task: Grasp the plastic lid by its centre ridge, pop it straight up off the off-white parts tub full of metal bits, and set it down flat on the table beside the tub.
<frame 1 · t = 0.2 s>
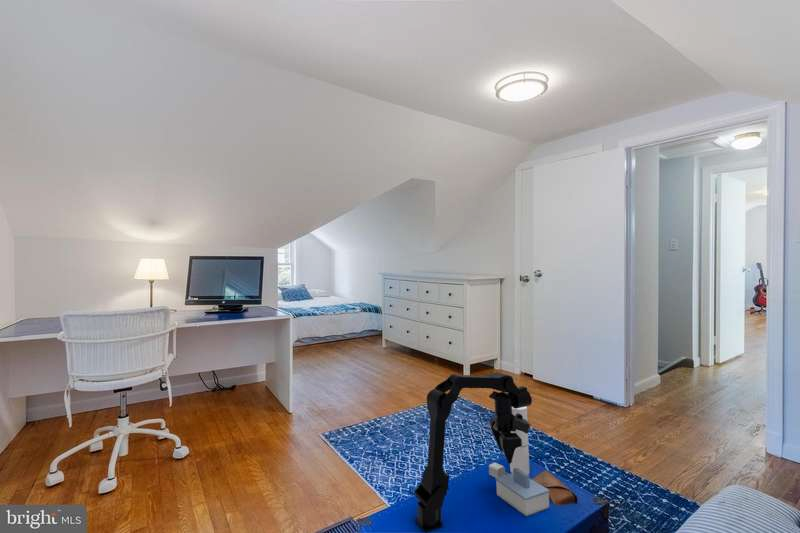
hand: (505, 456, 130), 14 cm above the table, fingers open, 9 cm apart
cylindrical container: (519, 471, 149), on the table
tub: (522, 501, 128), on the table
sunglasses case: (551, 492, 135), on the table
usb wall charger: (499, 478, 145), on the table
lid: (521, 485, 129), point 5 cm above the table, touching tub
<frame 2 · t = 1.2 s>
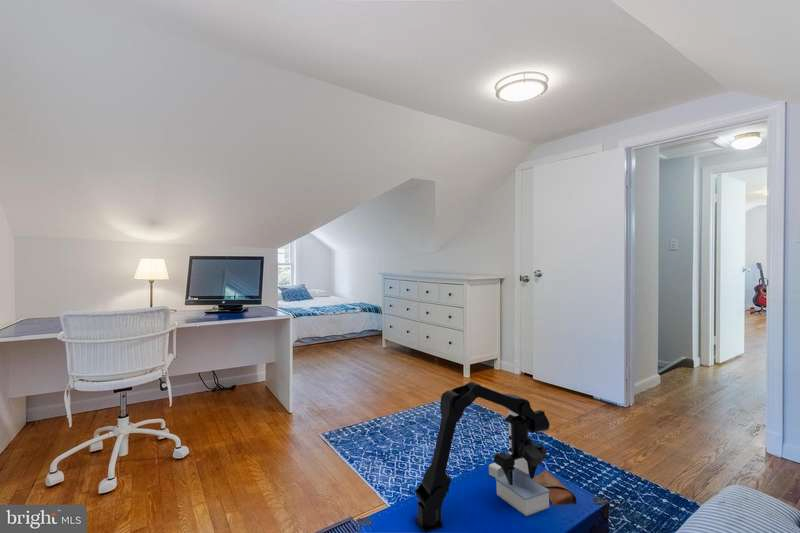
hand: (521, 481, 129), 6 cm above the table, fingers open, 9 cm apart
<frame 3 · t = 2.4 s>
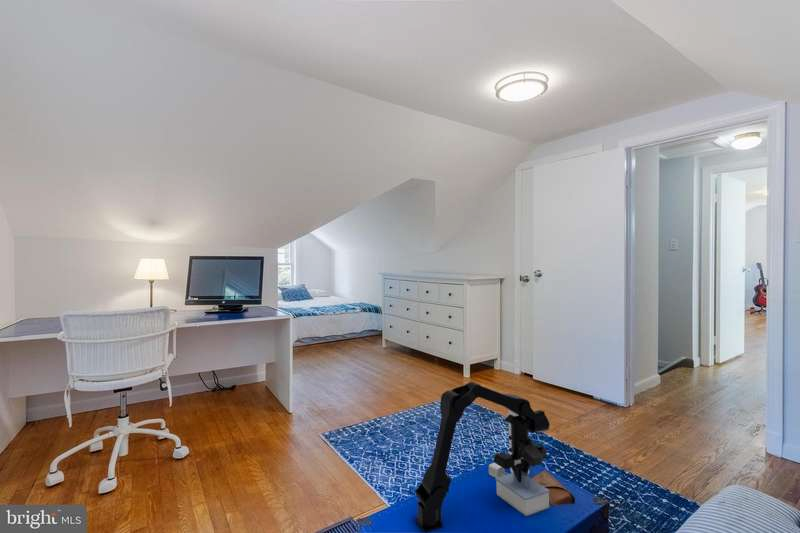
hand: (521, 481, 129), 6 cm above the table, fingers closed on lid
lid: (521, 485, 129), point 5 cm above the table, touching gripper, tub
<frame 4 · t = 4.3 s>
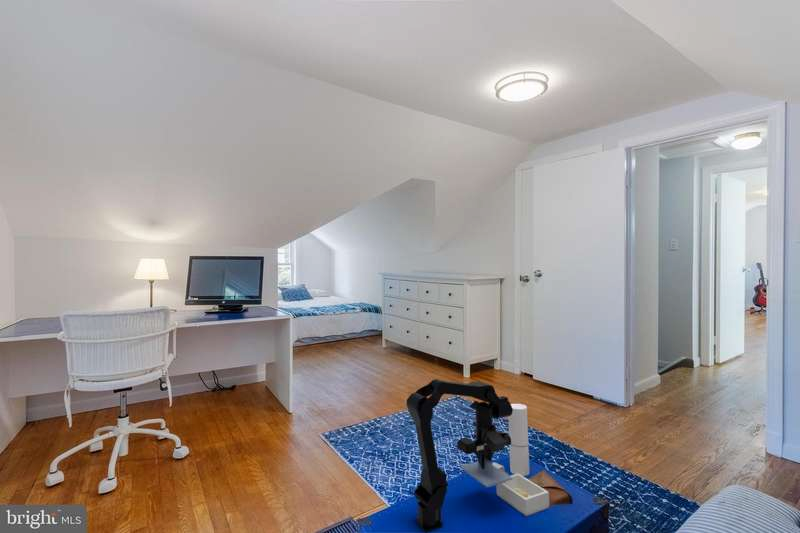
hand: (484, 468, 128), 12 cm above the table, fingers closed on lid
lid: (485, 473, 128), point 10 cm above the table, touching gripper
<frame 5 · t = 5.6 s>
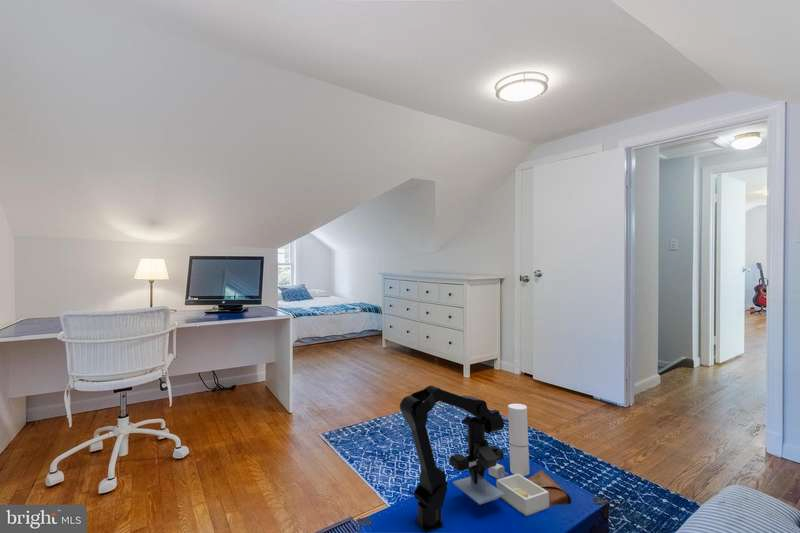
hand: (477, 483, 128), 7 cm above the table, fingers closed on lid
lid: (478, 489, 127), point 5 cm above the table, touching gripper
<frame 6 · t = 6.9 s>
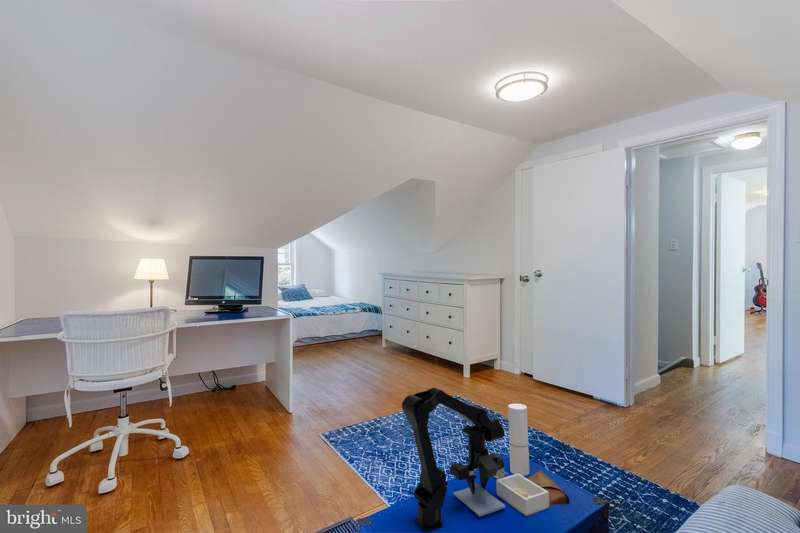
hand: (478, 492, 128), 4 cm above the table, fingers open, 4 cm apart
lid: (478, 500, 127), point 1 cm above the table
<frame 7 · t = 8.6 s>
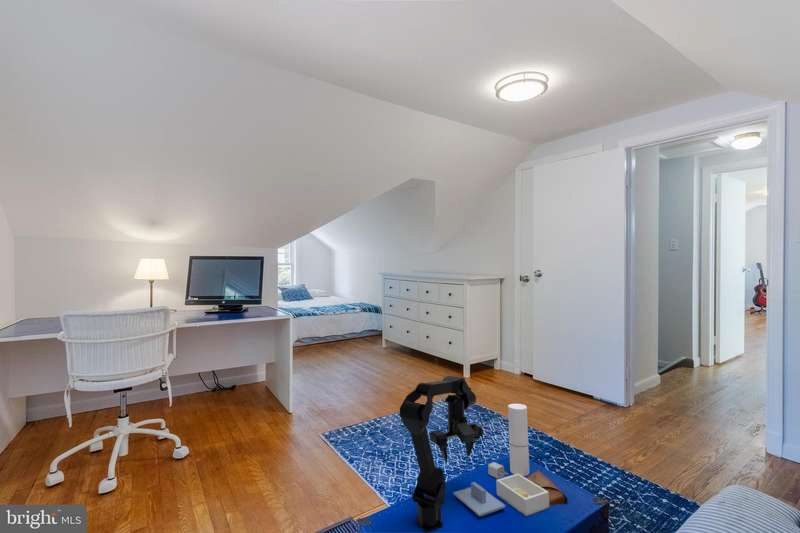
hand: (457, 458, 132), 13 cm above the table, fingers open, 9 cm apart
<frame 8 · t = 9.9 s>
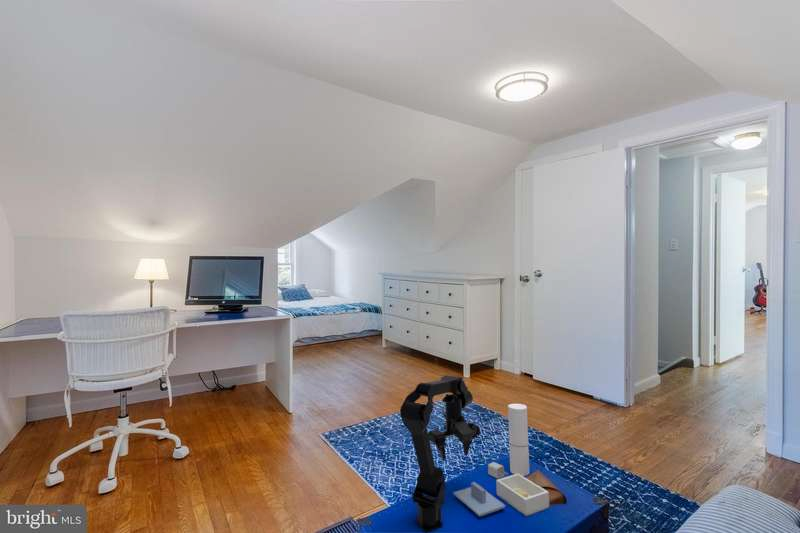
hand: (454, 457, 133), 13 cm above the table, fingers open, 9 cm apart
at the end: lid touching table; lid inside the target area (0.1 cm from its centre), point 1.2 cm above the table; lid tilted 0° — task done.
